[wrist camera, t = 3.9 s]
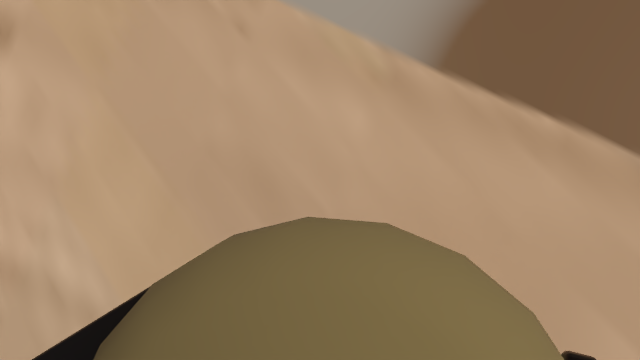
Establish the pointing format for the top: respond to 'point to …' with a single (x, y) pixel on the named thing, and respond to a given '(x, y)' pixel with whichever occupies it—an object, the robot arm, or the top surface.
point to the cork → (328, 302)
